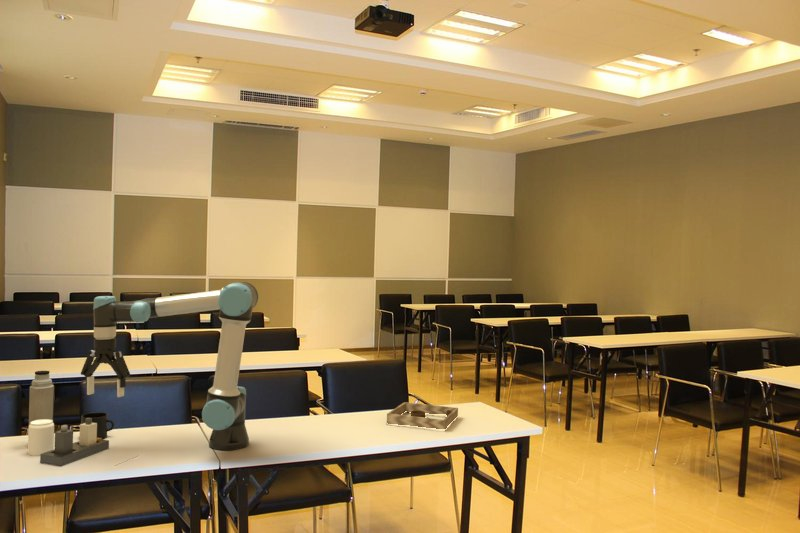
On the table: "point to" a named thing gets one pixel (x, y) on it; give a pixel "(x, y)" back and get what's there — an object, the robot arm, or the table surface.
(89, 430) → the plug
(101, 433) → the mug
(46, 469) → the table surface
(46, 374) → the thermos bottle
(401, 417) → the frame
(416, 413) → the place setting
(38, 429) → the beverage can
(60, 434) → the twin plug
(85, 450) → the strip
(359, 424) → the table surface
